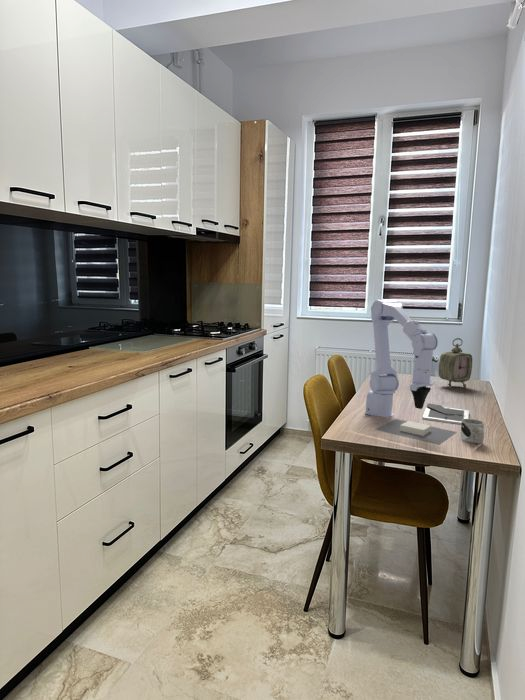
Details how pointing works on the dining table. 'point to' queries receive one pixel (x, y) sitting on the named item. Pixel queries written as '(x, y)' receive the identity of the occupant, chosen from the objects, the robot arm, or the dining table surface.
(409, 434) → the mat
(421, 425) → the tile
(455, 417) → the picture frame
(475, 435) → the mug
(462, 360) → the tabletop clock
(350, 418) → the dining table surface
